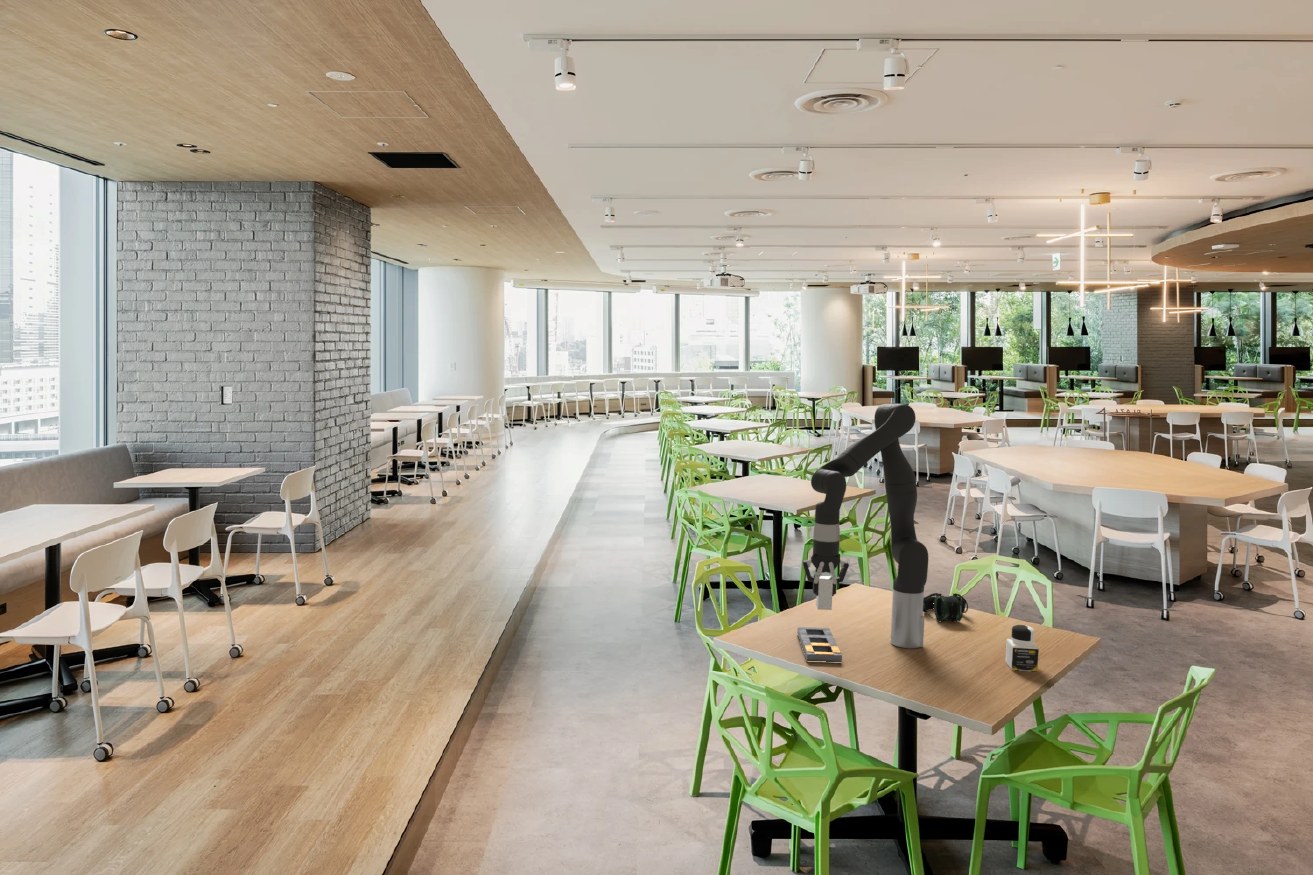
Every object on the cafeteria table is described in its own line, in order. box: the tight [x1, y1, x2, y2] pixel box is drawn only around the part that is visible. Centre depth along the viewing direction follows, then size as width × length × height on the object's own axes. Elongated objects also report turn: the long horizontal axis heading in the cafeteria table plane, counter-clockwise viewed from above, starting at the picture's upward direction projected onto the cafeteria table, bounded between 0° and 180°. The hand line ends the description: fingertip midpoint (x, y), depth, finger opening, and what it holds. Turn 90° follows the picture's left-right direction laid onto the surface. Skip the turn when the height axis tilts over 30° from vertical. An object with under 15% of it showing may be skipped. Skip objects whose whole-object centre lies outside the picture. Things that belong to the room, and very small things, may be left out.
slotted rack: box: [796, 626, 843, 662], centre depth 260 cm, size 10×25×3 cm, turn 177°
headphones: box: [923, 592, 969, 622], centre depth 295 cm, size 13×13×20 cm
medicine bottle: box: [1005, 624, 1040, 672], centre depth 247 cm, size 7×7×12 cm
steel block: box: [815, 575, 833, 611], centre depth 250 cm, size 4×4×9 cm
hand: (824, 595), depth 251 cm, fingers closed on steel block, 4 cm apart
